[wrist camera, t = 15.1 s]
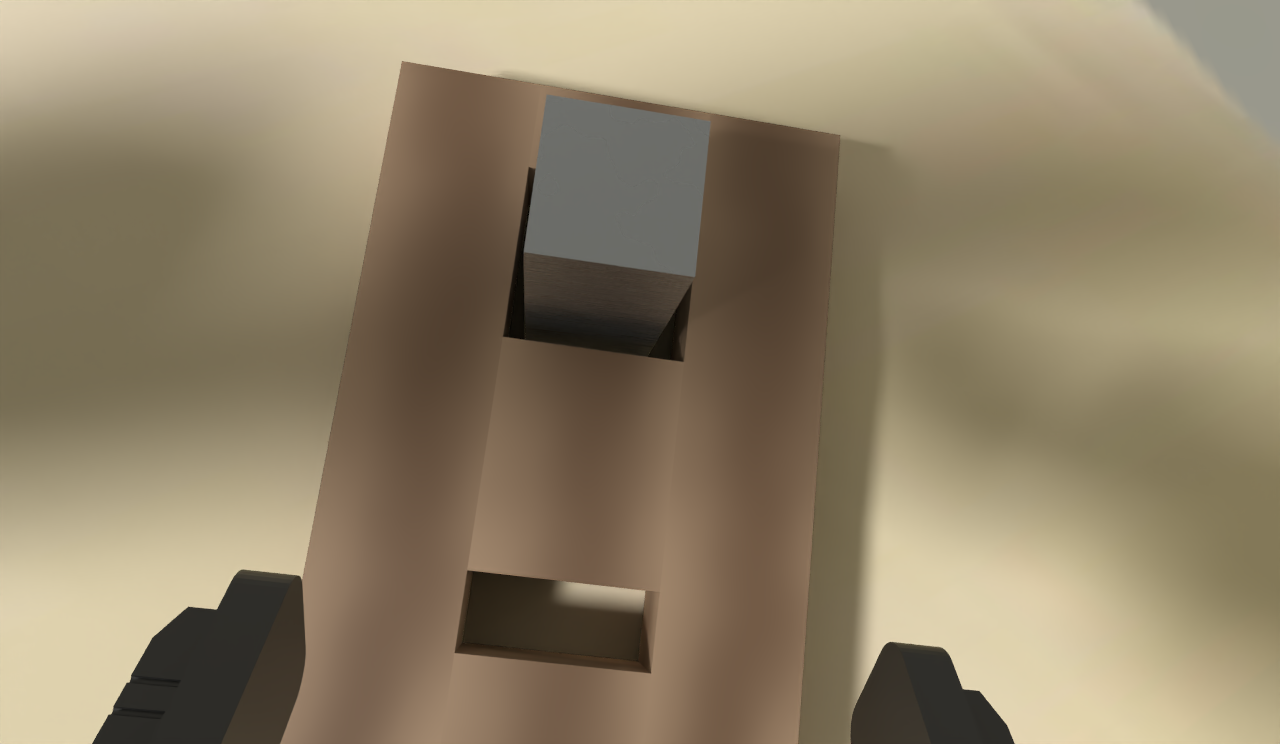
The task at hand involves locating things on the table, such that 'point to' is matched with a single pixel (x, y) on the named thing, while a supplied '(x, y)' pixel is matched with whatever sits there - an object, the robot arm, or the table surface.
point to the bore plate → (568, 450)
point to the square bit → (612, 224)
